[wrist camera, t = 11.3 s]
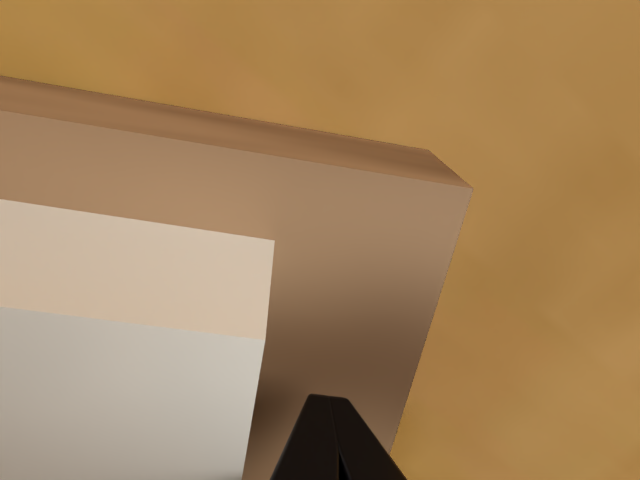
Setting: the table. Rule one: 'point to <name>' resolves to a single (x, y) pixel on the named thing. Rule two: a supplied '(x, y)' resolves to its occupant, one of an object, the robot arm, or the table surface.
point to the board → (265, 231)
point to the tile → (127, 346)
